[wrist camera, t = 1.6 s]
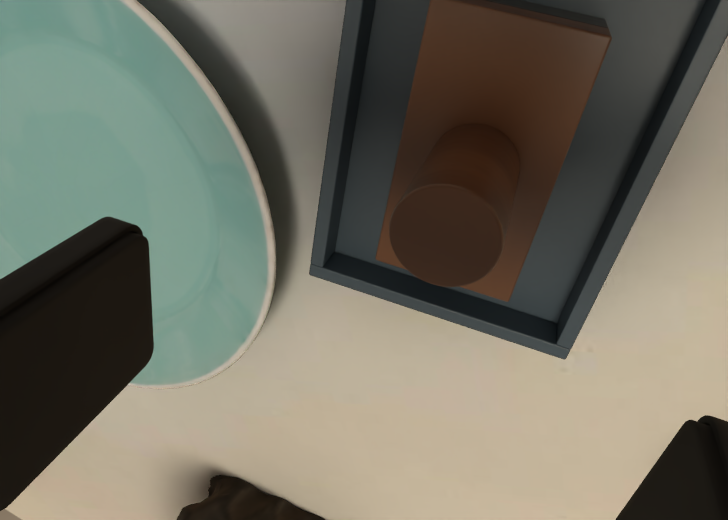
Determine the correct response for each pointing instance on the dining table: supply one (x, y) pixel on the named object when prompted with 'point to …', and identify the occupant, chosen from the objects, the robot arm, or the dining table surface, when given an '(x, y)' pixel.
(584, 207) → the tray
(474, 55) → the rubber stamp
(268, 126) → the dining table surface
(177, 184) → the plate
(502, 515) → the dining table surface
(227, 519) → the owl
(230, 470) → the dining table surface
